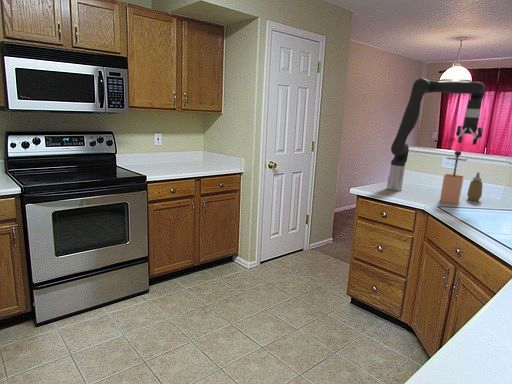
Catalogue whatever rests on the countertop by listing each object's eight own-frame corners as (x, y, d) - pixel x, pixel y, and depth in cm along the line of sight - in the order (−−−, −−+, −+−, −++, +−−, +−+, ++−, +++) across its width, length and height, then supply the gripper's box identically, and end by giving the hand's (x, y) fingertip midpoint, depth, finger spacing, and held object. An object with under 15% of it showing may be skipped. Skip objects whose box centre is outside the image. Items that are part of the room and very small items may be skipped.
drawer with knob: (442, 183, 225) (447, 150, 221) (444, 180, 234) (449, 149, 230) (461, 185, 220) (467, 152, 216) (463, 183, 228) (468, 151, 224)
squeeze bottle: (473, 201, 231) (478, 173, 227) (463, 198, 239) (468, 171, 235) (483, 201, 234) (489, 173, 230) (473, 198, 241) (478, 171, 237)
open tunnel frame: (439, 201, 228) (444, 175, 224) (442, 198, 236) (446, 173, 233) (457, 204, 223) (462, 178, 219) (459, 201, 231) (463, 176, 227)
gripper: (457, 115, 224) (452, 142, 228) (481, 117, 213) (475, 145, 216) (463, 116, 228) (458, 142, 232) (487, 117, 217) (482, 145, 220)
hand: (466, 143), depth 224 cm, fingers open, 8 cm apart
